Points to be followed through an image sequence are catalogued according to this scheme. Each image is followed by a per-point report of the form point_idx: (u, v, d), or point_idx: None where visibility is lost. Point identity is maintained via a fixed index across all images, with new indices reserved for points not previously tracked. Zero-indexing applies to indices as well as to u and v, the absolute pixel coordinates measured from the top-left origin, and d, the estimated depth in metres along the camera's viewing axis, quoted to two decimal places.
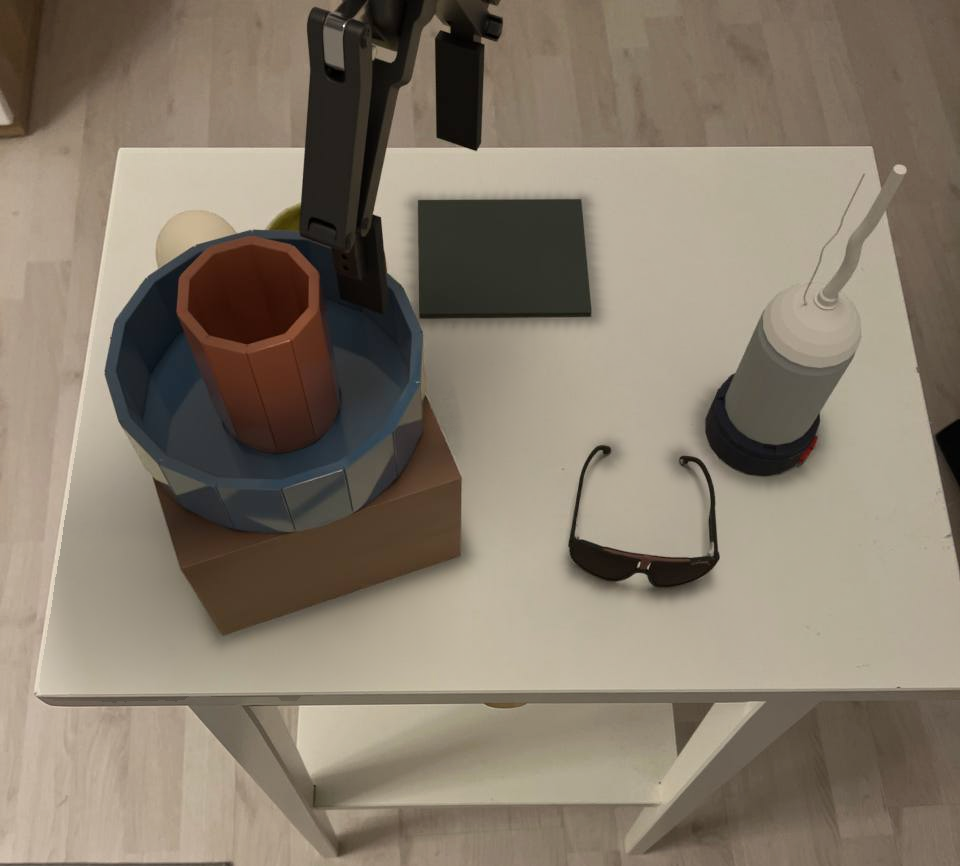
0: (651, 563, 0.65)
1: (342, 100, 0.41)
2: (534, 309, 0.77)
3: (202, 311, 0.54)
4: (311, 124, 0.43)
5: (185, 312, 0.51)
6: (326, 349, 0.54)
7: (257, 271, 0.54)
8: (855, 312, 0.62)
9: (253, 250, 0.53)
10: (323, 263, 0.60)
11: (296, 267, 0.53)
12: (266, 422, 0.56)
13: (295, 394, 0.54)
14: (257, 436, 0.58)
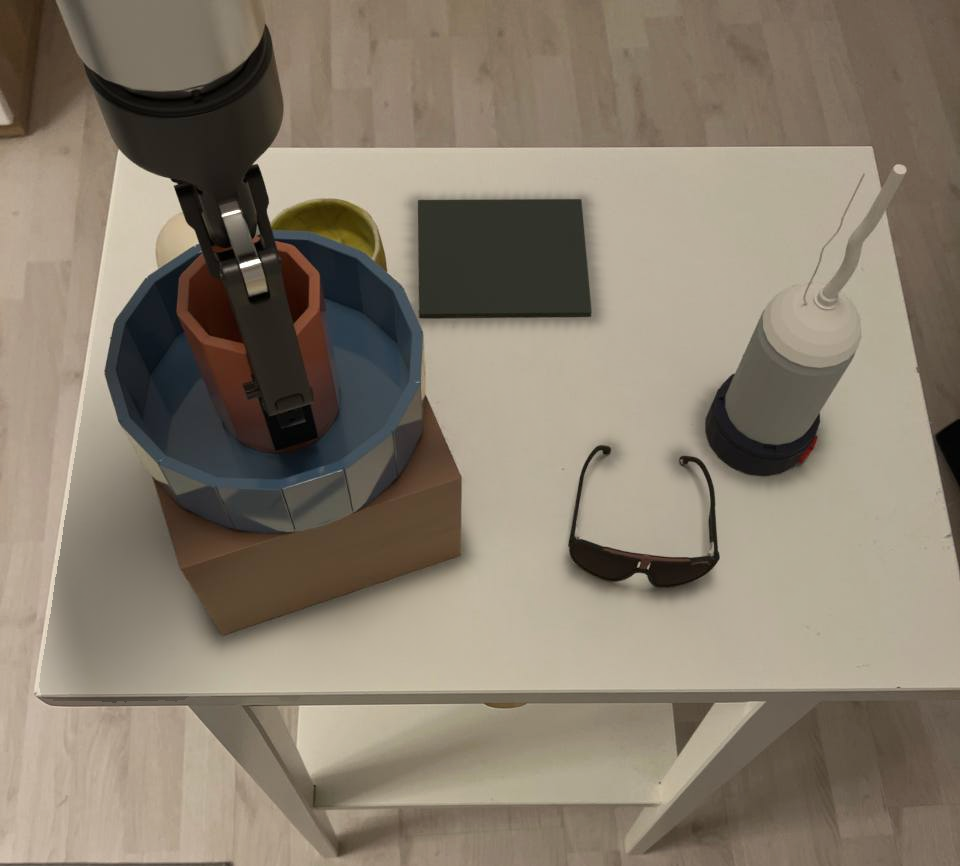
0: (651, 563, 0.65)
1: (273, 311, 0.44)
2: (534, 309, 0.77)
3: (202, 311, 0.54)
4: (251, 342, 0.45)
5: (185, 312, 0.51)
6: (326, 349, 0.54)
7: None
8: (855, 312, 0.62)
9: None
10: (323, 263, 0.60)
11: (296, 267, 0.53)
12: None
13: None
14: (257, 436, 0.58)
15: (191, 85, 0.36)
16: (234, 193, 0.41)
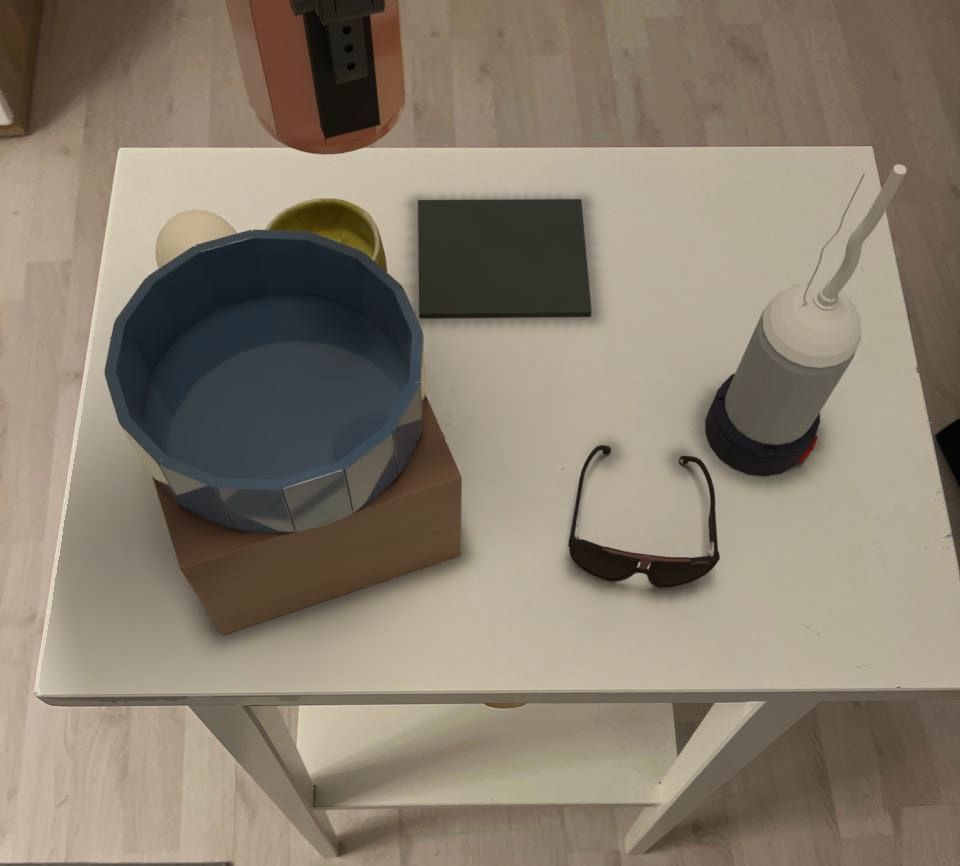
0: (651, 563, 0.65)
1: None
2: (534, 309, 0.77)
3: None
4: None
5: None
6: None
7: None
8: (855, 312, 0.62)
9: None
10: (323, 263, 0.60)
11: None
12: None
13: None
14: (301, 122, 0.45)
15: None
16: None
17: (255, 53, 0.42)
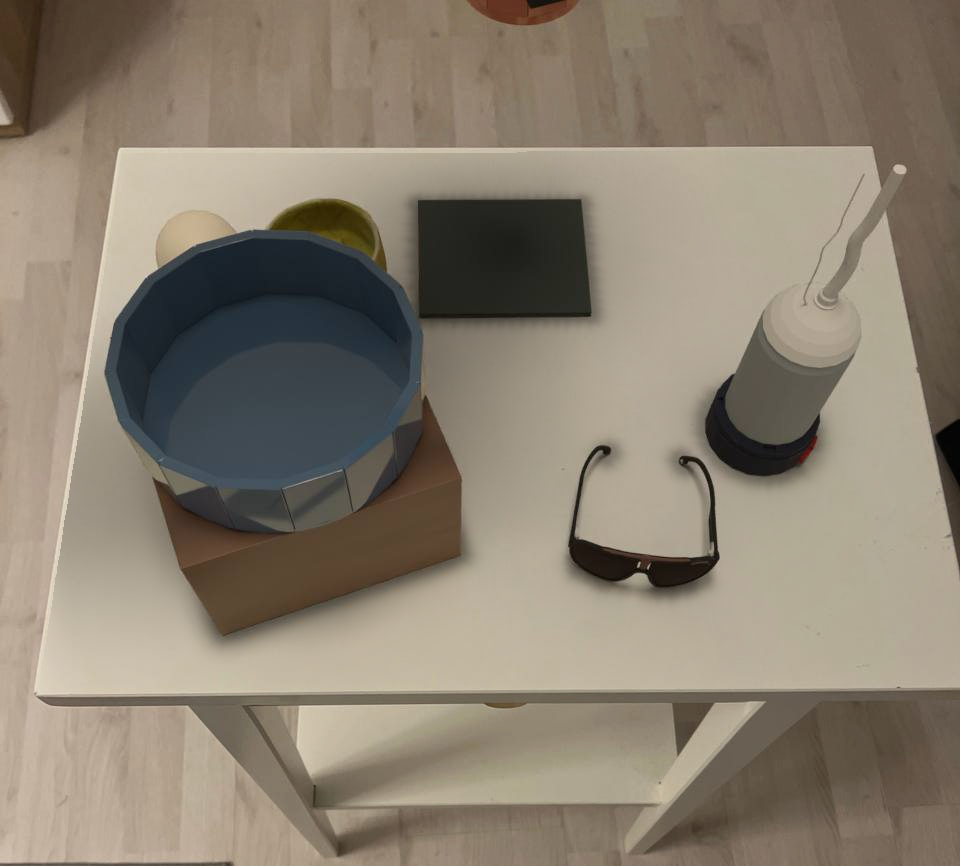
0: (651, 563, 0.65)
1: None
2: (534, 309, 0.77)
3: None
4: None
5: None
6: None
7: None
8: (855, 312, 0.62)
9: None
10: (323, 263, 0.60)
11: None
12: None
13: None
14: None
15: None
16: None
17: None
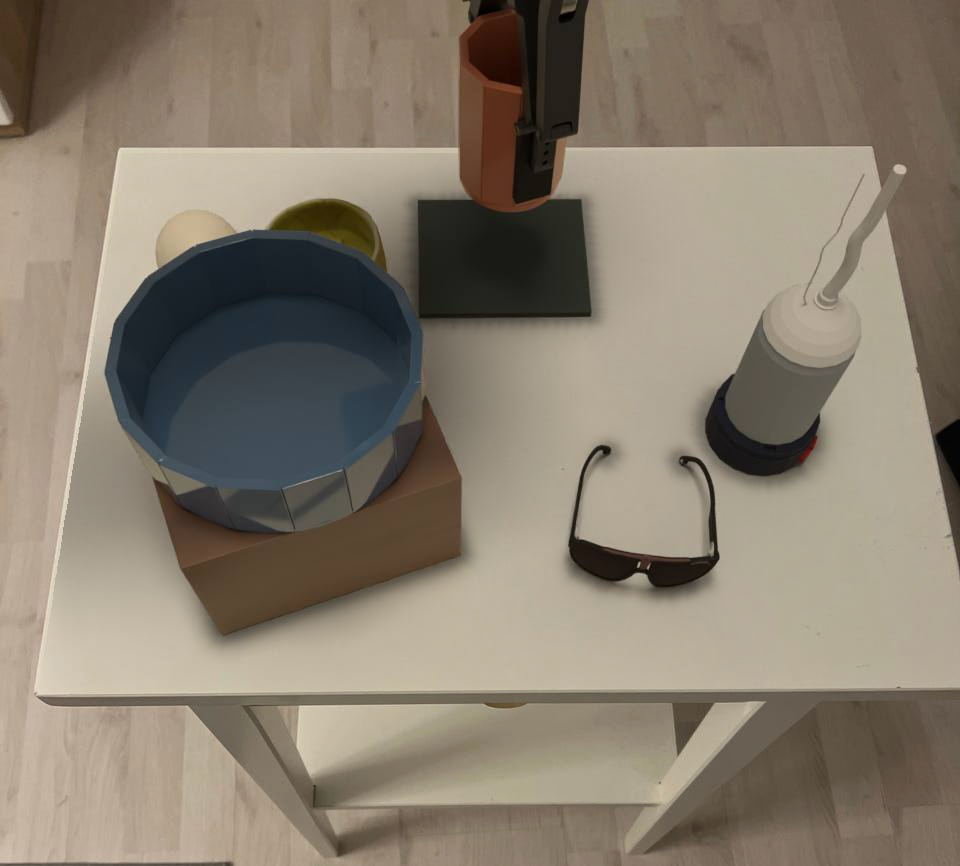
0: (651, 563, 0.65)
1: (572, 32, 0.55)
2: (534, 309, 0.77)
3: None
4: (549, 62, 0.56)
5: (467, 63, 0.62)
6: None
7: (512, 43, 0.65)
8: (855, 312, 0.62)
9: (514, 20, 0.64)
10: (323, 263, 0.60)
11: None
12: (513, 174, 0.67)
13: None
14: (500, 192, 0.69)
15: None
16: None
17: (477, 151, 0.66)
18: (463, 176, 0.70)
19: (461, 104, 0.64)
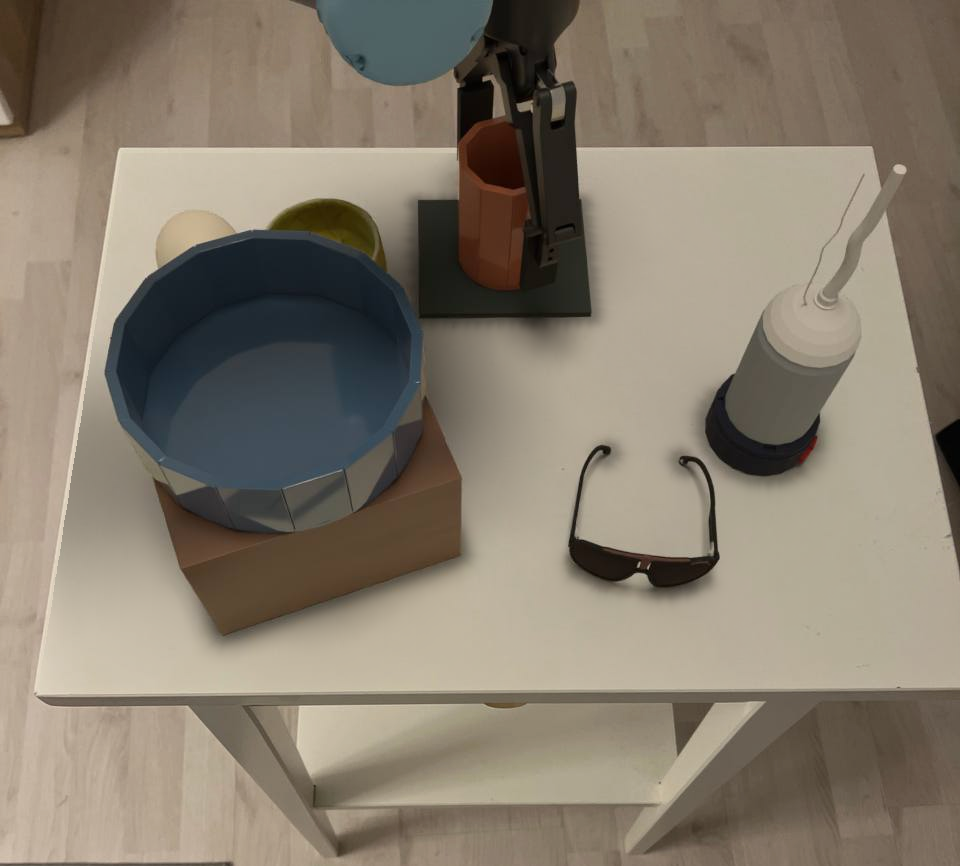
0: (651, 563, 0.65)
1: (564, 138, 0.61)
2: (534, 309, 0.77)
3: None
4: (546, 166, 0.61)
5: (466, 167, 0.69)
6: None
7: (505, 144, 0.73)
8: (855, 312, 0.62)
9: (508, 126, 0.71)
10: (323, 263, 0.60)
11: None
12: (507, 260, 0.74)
13: None
14: (495, 274, 0.76)
15: None
16: None
17: (474, 240, 0.74)
18: (462, 258, 0.77)
19: (460, 200, 0.72)
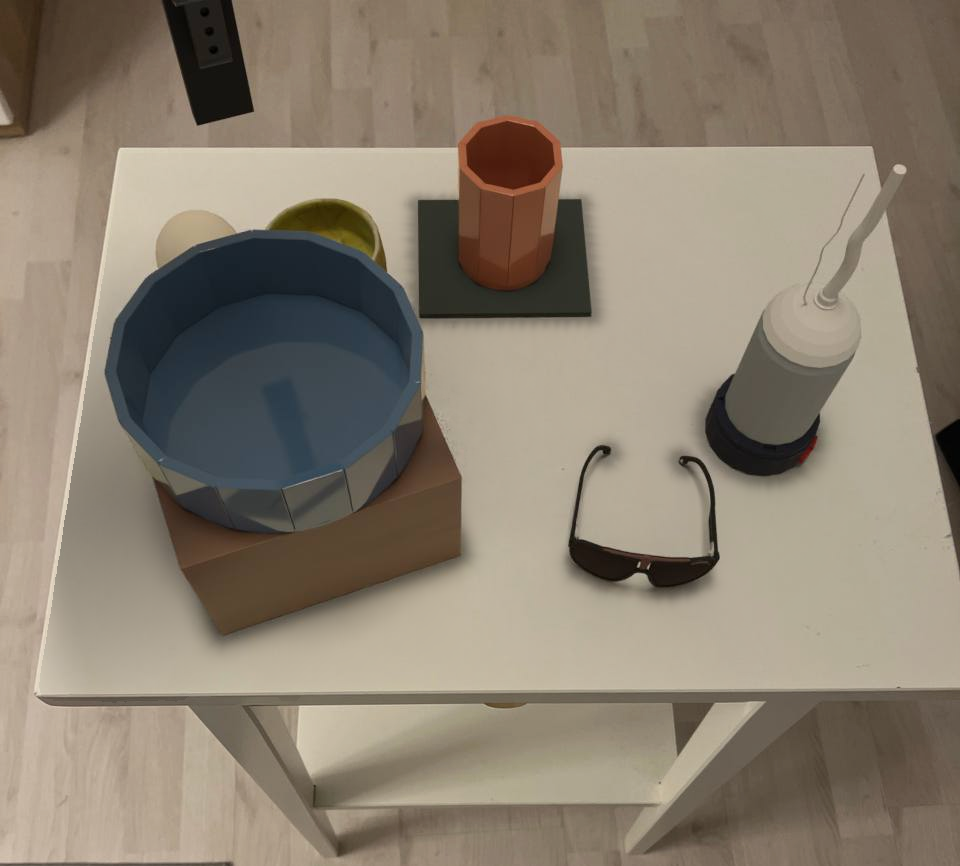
0: (651, 563, 0.65)
1: None
2: (534, 309, 0.77)
3: None
4: None
5: (466, 167, 0.69)
6: (557, 202, 0.73)
7: (505, 144, 0.73)
8: (855, 312, 0.62)
9: (508, 126, 0.71)
10: (323, 263, 0.60)
11: (540, 138, 0.71)
12: (507, 260, 0.74)
13: (534, 235, 0.73)
14: (495, 274, 0.76)
15: None
16: None
17: (474, 240, 0.74)
18: (462, 258, 0.77)
19: (460, 200, 0.72)
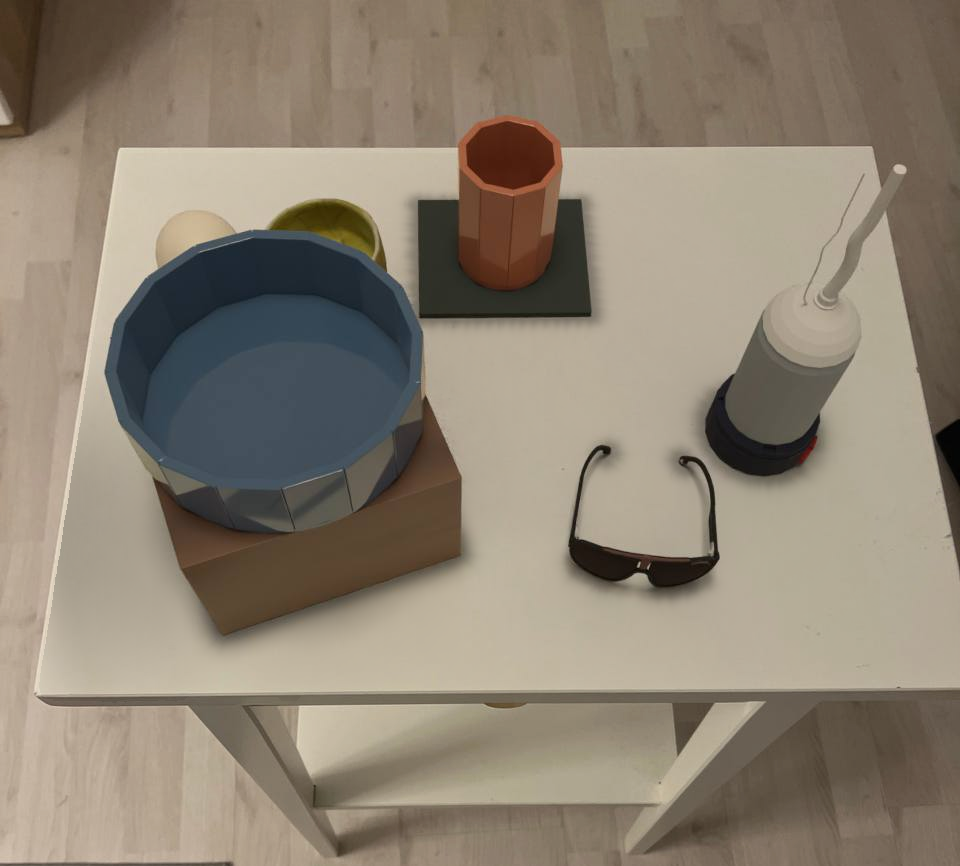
0: (651, 563, 0.65)
1: None
2: (534, 309, 0.77)
3: None
4: None
5: (466, 167, 0.69)
6: (557, 202, 0.73)
7: (505, 144, 0.73)
8: (855, 312, 0.62)
9: (508, 126, 0.71)
10: (323, 263, 0.60)
11: (540, 138, 0.71)
12: (507, 260, 0.74)
13: (534, 235, 0.73)
14: (495, 274, 0.76)
15: None
16: None
17: (474, 240, 0.74)
18: (462, 258, 0.77)
19: (460, 200, 0.72)
